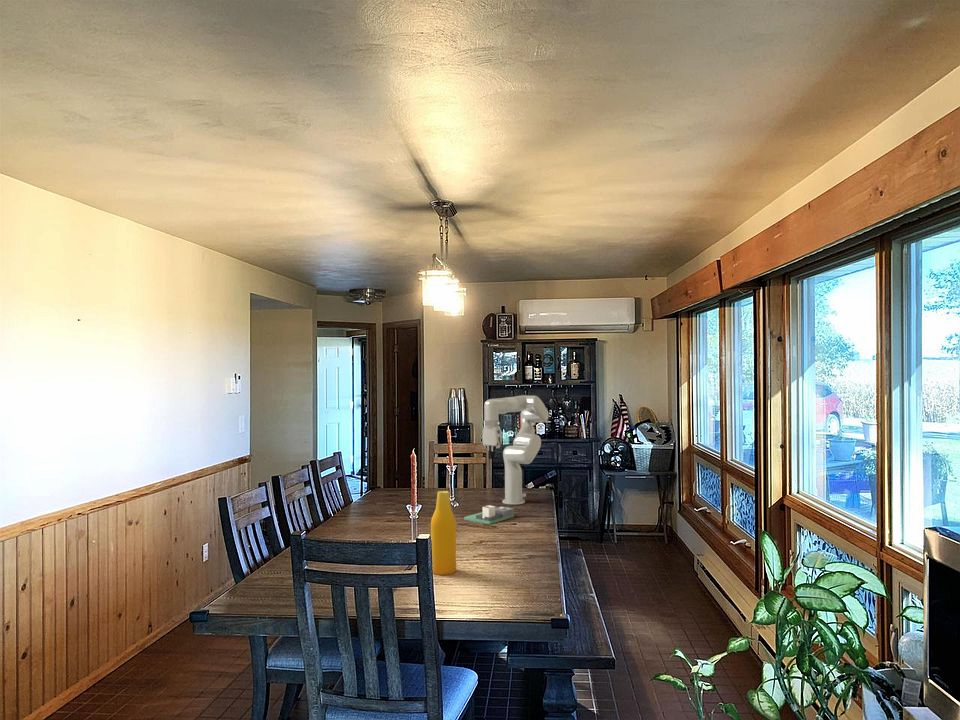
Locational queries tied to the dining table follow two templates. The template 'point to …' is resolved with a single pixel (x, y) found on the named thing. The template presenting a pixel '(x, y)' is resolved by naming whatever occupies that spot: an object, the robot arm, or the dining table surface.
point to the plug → (488, 511)
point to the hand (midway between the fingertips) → (491, 458)
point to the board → (473, 518)
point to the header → (489, 517)
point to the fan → (504, 511)
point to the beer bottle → (443, 536)
